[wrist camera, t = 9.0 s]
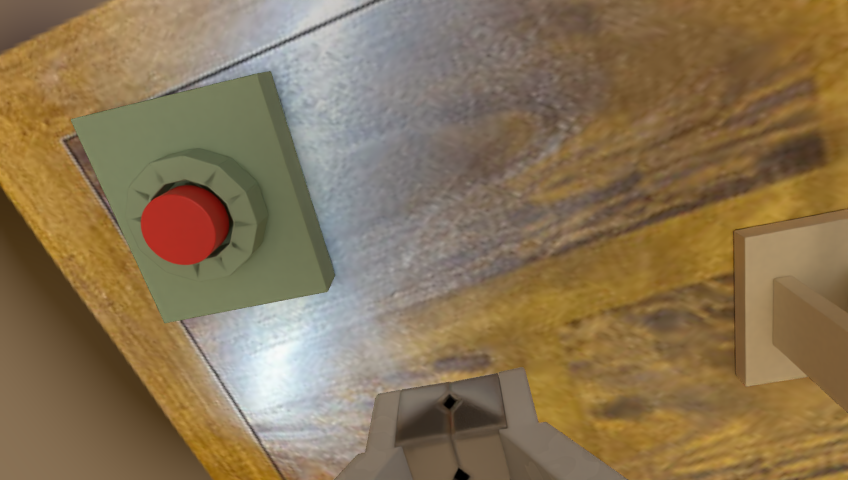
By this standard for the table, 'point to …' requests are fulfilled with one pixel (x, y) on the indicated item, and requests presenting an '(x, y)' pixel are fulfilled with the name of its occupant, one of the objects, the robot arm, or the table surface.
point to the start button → (185, 224)
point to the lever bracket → (793, 302)
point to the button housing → (214, 193)
